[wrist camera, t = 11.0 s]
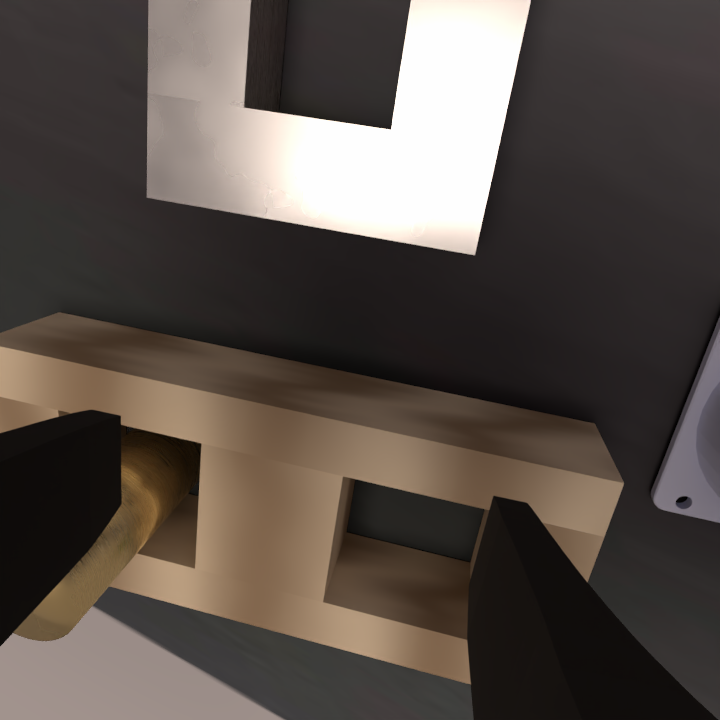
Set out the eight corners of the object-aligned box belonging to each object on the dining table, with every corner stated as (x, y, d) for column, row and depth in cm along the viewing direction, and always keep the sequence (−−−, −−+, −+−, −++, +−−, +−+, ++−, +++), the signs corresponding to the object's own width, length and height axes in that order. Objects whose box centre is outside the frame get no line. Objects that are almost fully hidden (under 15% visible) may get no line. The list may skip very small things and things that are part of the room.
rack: (594, 423, 20) (624, 483, 16) (530, 616, 23) (542, 703, 19) (59, 312, 22) (-23, 341, 18) (68, 499, 25) (-1, 556, 22)
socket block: (554, -130, 15) (574, -200, 12) (473, 242, 18) (474, 255, 16) (205, -162, 16) (150, -230, 13) (192, 193, 20) (146, 197, 17)
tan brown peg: (222, 413, 22) (76, 561, 14) (217, 479, 23) (79, 653, 15) (149, 395, 23) (-36, 530, 14) (147, 462, 24) (-25, 623, 15)
